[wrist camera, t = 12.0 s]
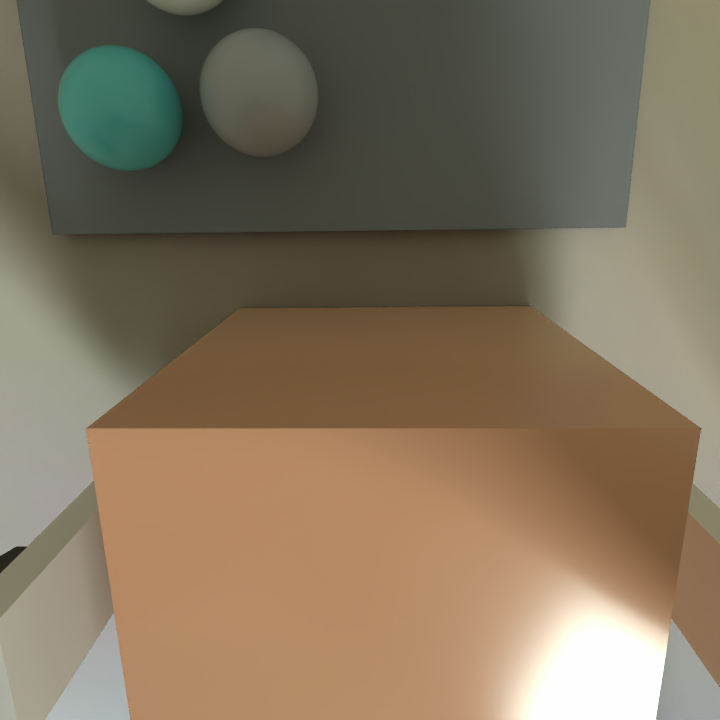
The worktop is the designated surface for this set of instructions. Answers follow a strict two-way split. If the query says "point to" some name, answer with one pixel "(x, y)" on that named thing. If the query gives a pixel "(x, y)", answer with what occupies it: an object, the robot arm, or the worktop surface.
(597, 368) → the terracotta cover
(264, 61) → the marble smoke
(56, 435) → the worktop surface
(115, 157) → the marble teal
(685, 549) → the robot arm
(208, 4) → the marble milk
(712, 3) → the worktop surface
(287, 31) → the slate mat
